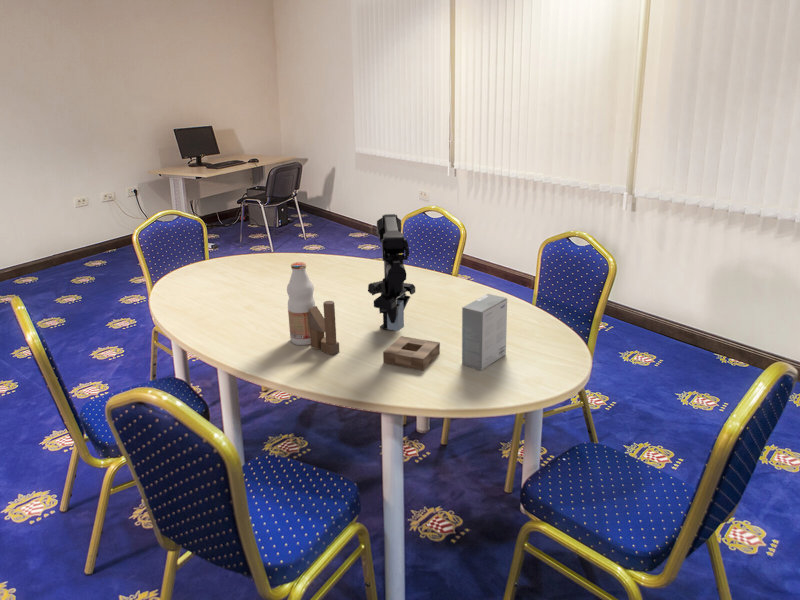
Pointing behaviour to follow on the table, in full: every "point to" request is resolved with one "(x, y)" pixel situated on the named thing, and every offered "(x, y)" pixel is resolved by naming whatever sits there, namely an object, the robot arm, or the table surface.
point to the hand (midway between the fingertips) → (395, 320)
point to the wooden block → (323, 328)
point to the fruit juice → (300, 304)
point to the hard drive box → (484, 331)
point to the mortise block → (411, 353)
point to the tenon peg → (397, 318)
